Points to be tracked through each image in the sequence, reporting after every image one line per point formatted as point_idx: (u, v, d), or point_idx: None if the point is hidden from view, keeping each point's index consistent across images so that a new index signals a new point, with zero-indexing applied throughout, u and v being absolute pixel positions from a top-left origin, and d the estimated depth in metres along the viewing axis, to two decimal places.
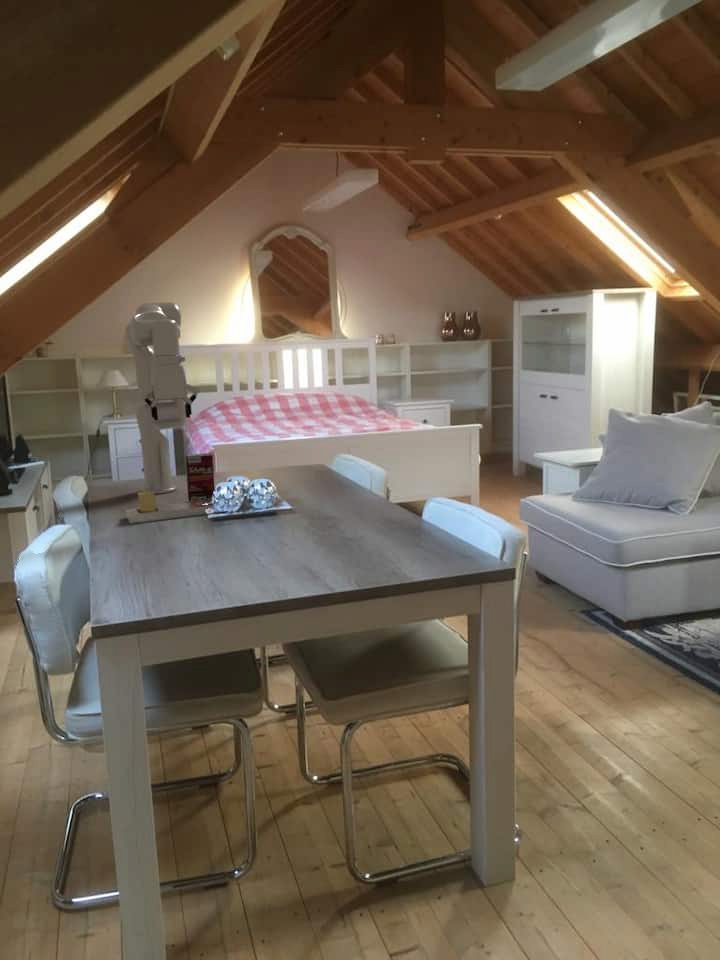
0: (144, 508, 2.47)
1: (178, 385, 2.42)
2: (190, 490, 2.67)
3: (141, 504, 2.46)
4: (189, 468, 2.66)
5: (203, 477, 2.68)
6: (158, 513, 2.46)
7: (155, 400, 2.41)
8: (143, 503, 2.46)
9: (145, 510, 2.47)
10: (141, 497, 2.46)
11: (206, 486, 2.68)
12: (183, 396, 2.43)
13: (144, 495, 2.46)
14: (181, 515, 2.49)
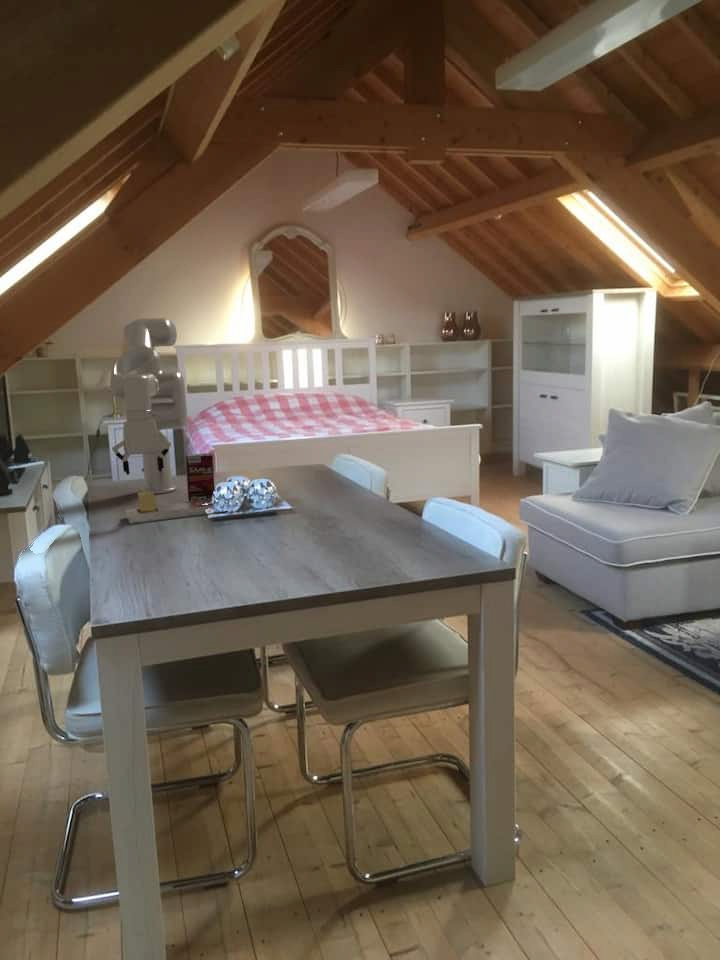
0: (144, 508, 2.47)
1: (150, 439, 2.44)
2: (190, 490, 2.67)
3: (141, 504, 2.46)
4: (189, 468, 2.66)
5: (203, 477, 2.68)
6: (158, 513, 2.46)
7: (127, 455, 2.43)
8: (143, 503, 2.46)
9: (145, 510, 2.47)
10: (141, 497, 2.46)
11: (206, 486, 2.68)
12: (155, 450, 2.45)
13: (144, 495, 2.46)
14: (181, 515, 2.49)
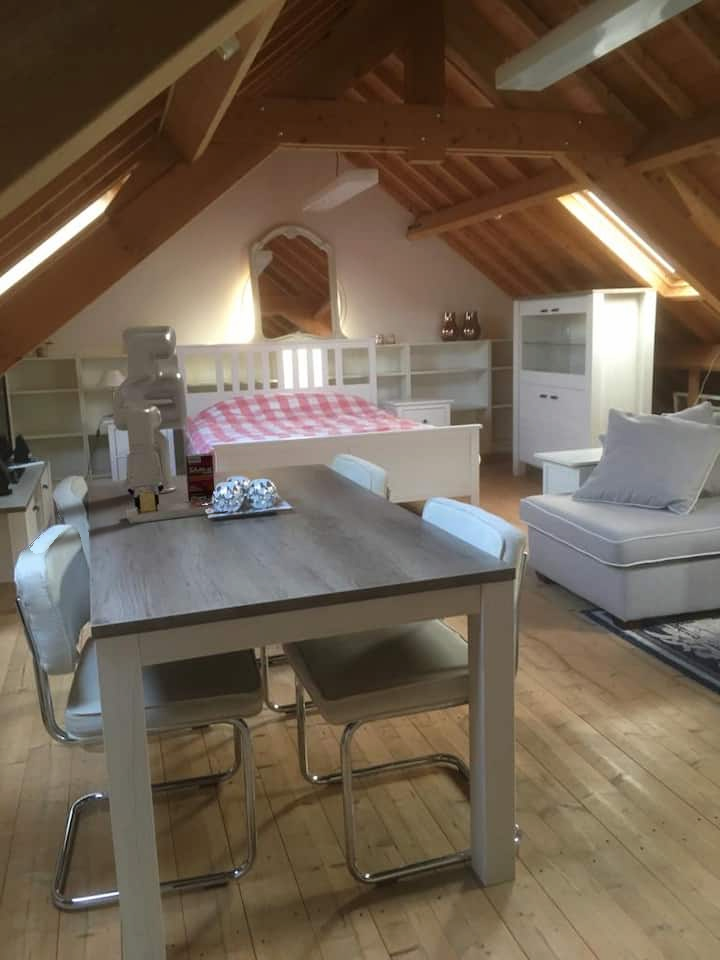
0: (144, 508, 2.47)
1: (152, 472, 2.46)
2: (190, 490, 2.67)
3: (141, 504, 2.46)
4: (189, 468, 2.66)
5: (203, 477, 2.68)
6: (158, 513, 2.46)
7: (135, 490, 2.46)
8: (143, 503, 2.46)
9: (145, 510, 2.47)
10: (141, 497, 2.46)
11: (206, 486, 2.68)
12: (158, 483, 2.47)
13: (144, 495, 2.46)
14: (181, 515, 2.49)
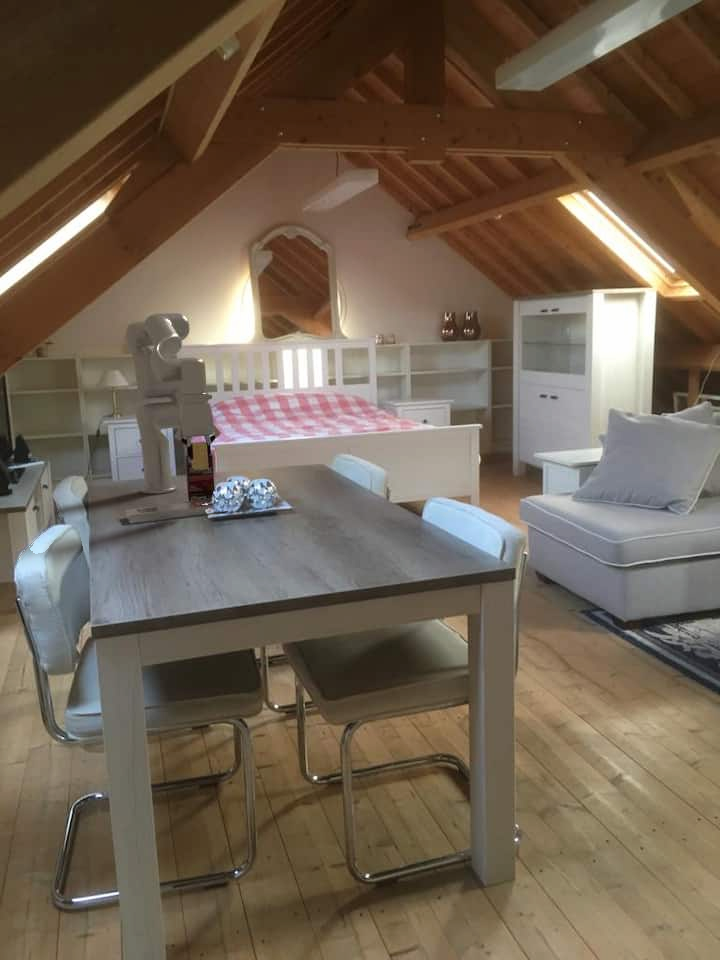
0: (196, 457, 2.50)
1: (205, 422, 2.49)
2: (190, 490, 2.67)
3: (194, 453, 2.50)
4: (189, 468, 2.66)
5: (203, 477, 2.68)
6: (158, 513, 2.46)
7: (188, 439, 2.49)
8: (196, 452, 2.50)
9: (197, 460, 2.50)
10: (194, 446, 2.49)
11: (206, 486, 2.68)
12: (210, 433, 2.51)
13: (197, 445, 2.50)
14: (181, 515, 2.49)
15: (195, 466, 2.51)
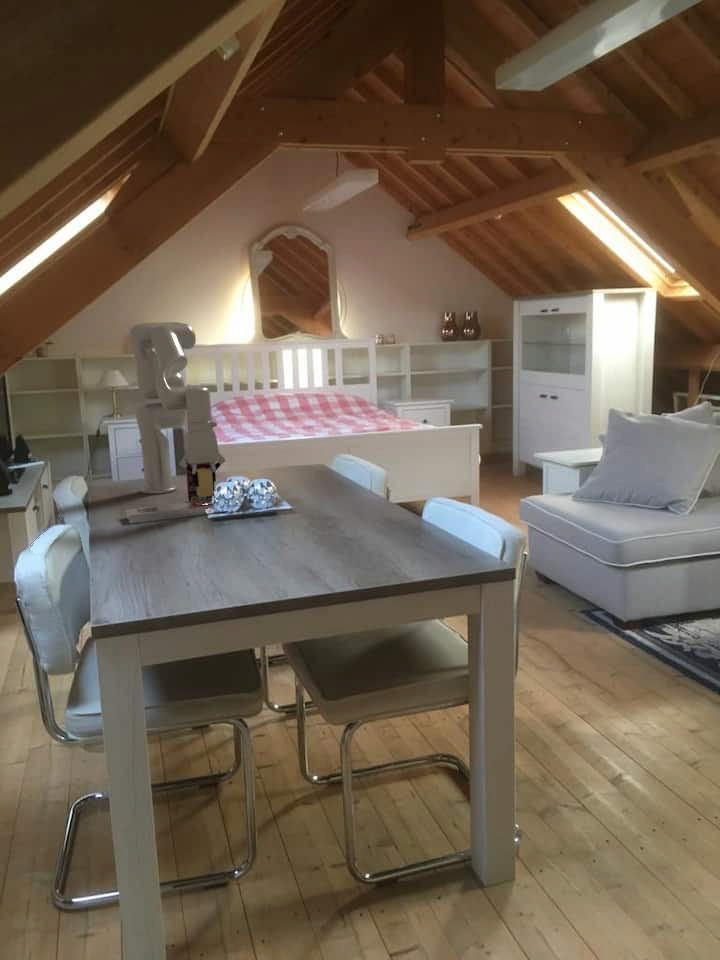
0: (202, 484, 2.52)
1: (210, 450, 2.51)
2: (190, 490, 2.67)
3: (199, 481, 2.52)
4: None
5: None
6: (158, 513, 2.46)
7: (194, 467, 2.51)
8: (201, 480, 2.52)
9: (202, 487, 2.52)
10: (199, 474, 2.51)
11: None
12: (215, 460, 2.53)
13: (202, 472, 2.51)
14: (181, 515, 2.49)
15: (200, 493, 2.52)
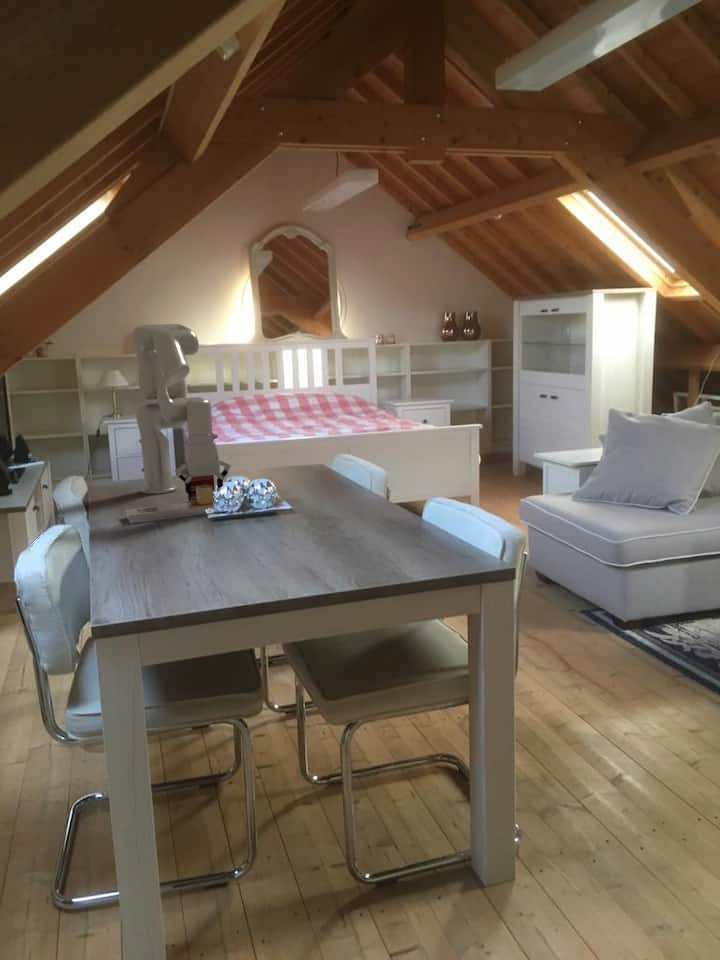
0: (203, 501, 2.53)
1: (211, 462, 2.52)
2: None
3: (200, 497, 2.53)
4: None
5: (203, 477, 2.68)
6: (158, 513, 2.46)
7: (189, 477, 2.51)
8: (202, 496, 2.53)
9: (203, 504, 2.53)
10: (200, 490, 2.52)
11: None
12: (216, 472, 2.54)
13: (203, 489, 2.53)
14: (181, 515, 2.49)
15: None
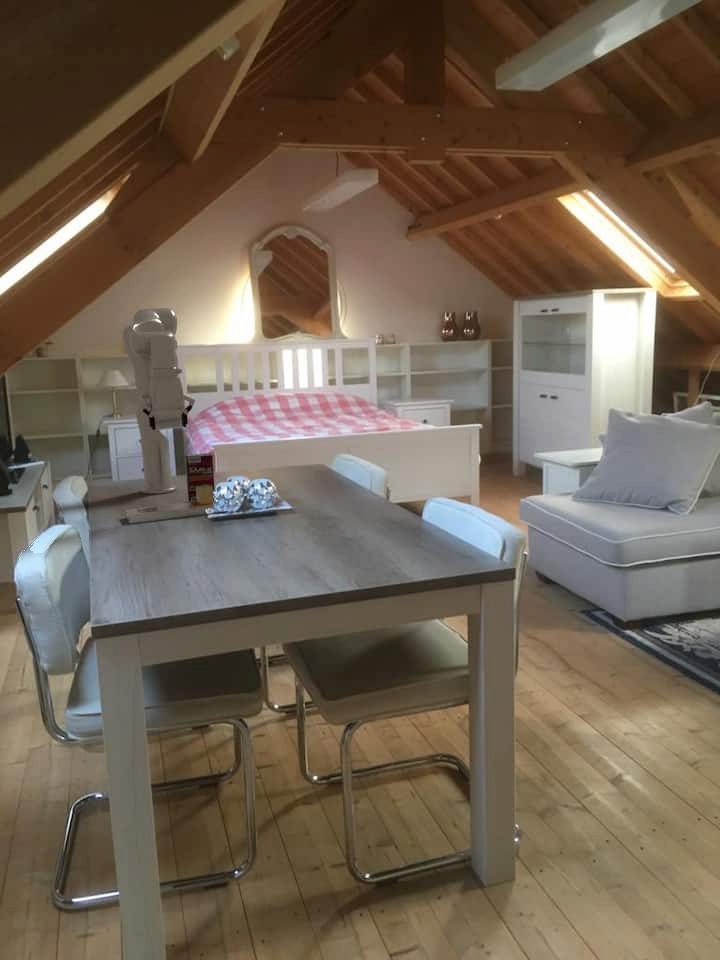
0: (203, 501, 2.53)
1: (175, 396, 2.52)
2: (190, 490, 2.67)
3: (200, 497, 2.53)
4: (189, 468, 2.66)
5: (203, 477, 2.68)
6: (158, 513, 2.46)
7: (153, 411, 2.51)
8: (202, 496, 2.53)
9: (203, 504, 2.53)
10: (200, 490, 2.52)
11: None
12: (180, 407, 2.54)
13: (203, 489, 2.53)
14: (181, 515, 2.49)
15: None
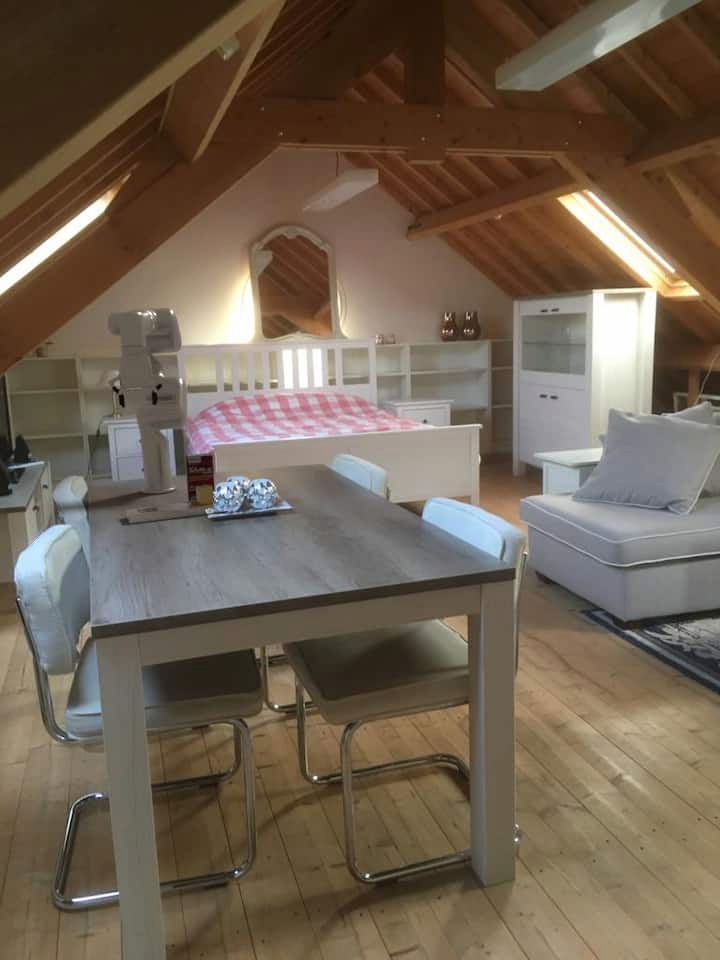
0: (203, 501, 2.53)
1: (144, 374, 2.54)
2: (190, 490, 2.67)
3: (200, 497, 2.53)
4: (189, 468, 2.66)
5: (203, 477, 2.68)
6: (158, 513, 2.46)
7: (122, 388, 2.53)
8: (202, 496, 2.53)
9: (203, 504, 2.53)
10: (200, 490, 2.52)
11: None
12: (149, 385, 2.56)
13: (203, 489, 2.53)
14: (181, 515, 2.49)
15: None
